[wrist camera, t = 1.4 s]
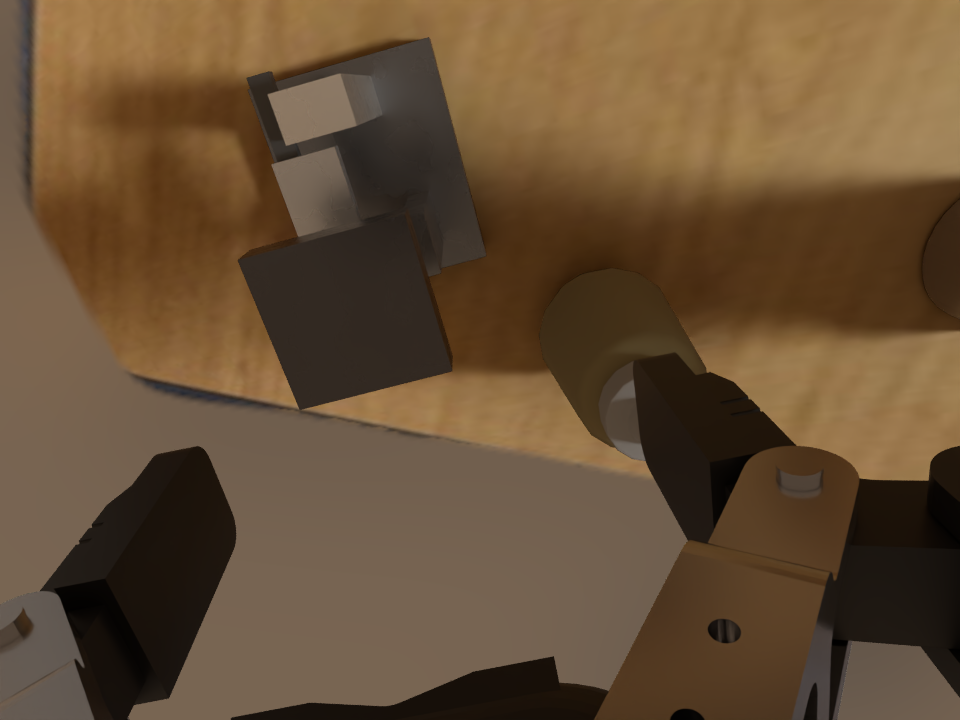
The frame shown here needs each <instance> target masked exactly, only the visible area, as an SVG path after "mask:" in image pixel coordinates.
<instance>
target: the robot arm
mask: <svg viewBox="0 0 960 720" xmlns="http://www.w3.org/2000/svg"><path fill="white" fill-rule="evenodd" d="M922 274H923V280H924V286H925V288H926V290H927V293H928V295H929V297H930V298H931V300H932V301H933V302H934V303H935V304H936V305H937V307H939V308H940V309H942V310H943V311H945V312H946V313H948V314H949V315H952V316H954V317H956V318H958V319H960V199H959V200H958V201H957V202H956V203H955V204H954V205H953V206H952V207H951V208H950V209H949V210H948V211H947V212H946V213H945V214H944V215H943V217H942V218H941V220H940V221H939V222H938V224H937V225H936V226H935V228H934V230H933V232H932V234H931V236H930V238H929V240H928V242H927V246H926V249H925V253H924V256H923V267H922ZM633 379H634V388H635V397H636V406H637V415H638V425H639V434H640V441H641V446H642V450H643V454H644V457H645V460H646V463H647V466H648V468H649V470H650V472H651V474H652V475H653V477H654V479H655V481H656V483H657V485H658V486H659V488H660V490H661V492H662V494H663V496H664V498H665V499H666V501H667V503H668V505H669V507H670V509H671V510H672V512H673V514H674V516H675V518H676V520H677V521H678V523H679V525H680V527H681V529H682V531H683V532H684V534H685V536H686V538H687V540H688V542H687V543H686V544H685V545H684V547H683V549H682V550H681V552H680V554H679V556H678V558H677V560H676V561H675V563H674V565H673V567H672V569H671V571H670V573H669V575H668V577H667V579H666V581H665V583H664V585H663V587H662V589H661V591H660V593H659V595H658V596H657V598H656V600H655V602H654V604H653V606H652V608H651V610H650V612H649V614H648V616H647V618H646V620H645V622H644V624H643V626H642V628H641V630H640V631H639V633H638V636H637V637H636V639H635V641H634V643H633V645H632V647H631V649H630V651H629V653H628V655H627V657H626V659H625V661H624V663H623V664H622V667H621V668H620V671H619V672H618V674H617V676H616V678H615V680H614V682H613V684H612V686H611V688H610V690H609V691H607V690H604V689H600V688H596V687H591V686H586V685H580V684H570V683H559V680H558V675H557V670H556V665H555V660H554V656H553V657H548V658H543V659H538V660H533V661H527V662H522V663H517V664H511V665H506V666H501V667H496V668H490V669H486V670H480V671H475V672H472V673H470V674H467V675H465V676H462V677H460V678H458V679H455V680H453V681H451V682H448V683H446V684H444V685H441V686H439V687H436V688H434V689H432V690H429V691H427V692H424V693H422V694H420V695H417V696H415V697H413V698H410V699H408V700H406V701H403V702H401V703H398V704H395V705H391V706H364V705H344V704H324V703H323V704H322V703H306V704H301V705H296V706H290V707H285V708H280V709H275V710H269V711H264V712H259V713H254V714H249V715H243V716H238V717H233V718H231V720H837V719H838V713H839V708H840V703H841V697H842V692H843V687H844V682H845V677H846V672H847V666H848V660H849V656H850V651H851V645H852V641H861V642H873V643H886V644H898V645H910V646H921V647H922V649H923V650H924V651H925V653H926V654H927V655H928V657H929V658H930V659H931V661H932V662H933V663H934V665H935V666H936V667H937V669H938V670H939V671H940V672H941V674H942V675H943V676H944V678H945V679H946V680H947V682H948V683H949V684H950V685H951V687H952V688H953V689H954V691H955V692H956V693H957V694H958V696H959V697H960V446H957V447H953V448H949V449H947V450H944V451H942V452H940V453H938V454H937V455H936V456H935V457H934V458H933V459H932V461H931V464H930V472H929V481H901V480H868V479H860V478H859V476H858V473H857V471H856V469H855V468H854V467H853V466H852V465H851V464H850V463H849V462H848V461H846V460H845V459H844V458H842V457H840V456H838V455H836V454H834V453H831V452H828V451H825V450H822V449H818V448H812V447H805V446H796V445H795V444H794V443H793V442H792V441H791V440H790V439H789V438H788V437H787V436H786V435H785V433H784V432H783V431H782V430H781V429H780V428H779V427H778V426H777V425H776V424H775V423H774V422H773V421H772V420H771V419H770V418H769V417H768V416H767V415H766V414H765V413H764V412H763V411H762V412H760V408H759V407H758V406H757V405H756V404H755V403H754V402H753V401H752V400H751V399H750V400H749V399H748V396H747V395H746V394H745V393H744V392H743V391H742V390H741V389H740V388H739V387H738V386H737V385H736V384H735V383H734V382H732V381H730V380H728V379H725V378H723V377H721V376H718V375H716V374H714V373H711V372H709V373H704V374H698V375H695V373H694V372H693V371H692V370H691V369H690V368H689V367H688V365H687V364H686V363H685V362H684V361H683V360H682V359H681V358H680V356H679V355H678V354H677V353H675V352H673V353H668V354H663V355H658V356H653V357H648V358H643V359H638V360H634V362H633ZM79 542H80V544H78V545H75V547H74V548H73V549H72V550H71V552H70V553H69V555H68V556H67V557H66V558H65V559H64V561H63V562H62V563H61V565H60V566H59V567H58V568H57V570H56V571H55V572H54V574H53V575H52V576H51V578H50V579H49V580H48V581H47V583H46V584H45V585H44V587H43V588H42V589H41V590H40V591H39V592H34V593H28V594H25V595H22V596H18V597H16V598H14V599H11V600H9V601H6V602H5V603H2V604H0V720H130V719H129V717H128V716H129V714H130V712H131V710H132V708H133V706H134V705H136V704H142V703H147V702H152V701H157V700H163V699H167V698H169V697H170V695H171V693H172V690H173V688H174V686H175V683H176V681H177V679H178V676H179V674H180V672H181V670H182V667H183V665H184V663H185V660H186V658H187V656H188V653H189V651H190V649H191V647H192V644H193V642H194V640H195V637H196V635H197V633H198V630H199V628H200V626H201V623H202V621H203V619H204V617H205V614H206V612H207V610H208V608H209V605H210V603H211V601H212V598H213V596H214V594H215V591H216V589H217V587H218V585H219V582H220V580H221V578H222V575H223V573H224V571H225V568H226V566H227V564H228V562H229V559H230V557H231V555H232V552H233V550H234V547H235V543H236V526H235V520H234V517H233V514H232V511H231V509H230V506H229V504H228V501H227V499H226V497H225V494H224V492H223V489H222V487H221V485H220V482H219V480H218V478H217V475H216V473H215V470H214V468H213V466H212V463H211V461H210V459H209V456H208V454H207V453H206V451H205V450H204V449H203V448H201V447H199V446H196V447H191V448H186V449H181V450H176V451H171V452H166V453H161V454H157V455H155V456H154V457H153V458H152V460H151V461H150V462H149V463H148V465H147V466H146V467H145V469H144V470H143V471H142V473H141V474H140V476H139V477H138V478H137V479H136V481H135V482H134V483H133V485H132V486H130V487H129V488H128V489H127V490H125V491H124V492H123V493H122V494H120V495H119V496H118V497H116V498H115V499H114V500H113V501H111V502H110V503H109V504H108V505H107V506H106V507H105V508H104V510H103V511H102V512H101V513H100V515H99V516H98V517H97V519H96V520H95V521H94V522H93V524H92V528H89V529H88V530H87V531H86V533H85V534H84V535H83V537H82V538H81V539H80V540H79Z"/></svg>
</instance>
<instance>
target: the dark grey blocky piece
mask: <svg viewBox="0 0 960 720" xmlns="http://www.w3.org/2000/svg"><path fill="white" fill-rule="evenodd" d="M271 165H272V168H273V171H274V173H275V176H276V179H277V181H278V184H279V187H280V189H281V192H282V195H283V197H284V200H285V203H286V205H287V208H288V211H289V213H290V216H291V219H292V221H293V224H294V227H295V230H296V232H297V235H298V237H296V238H292V239H289V240H285V241H281V242H278V243H274V244H270V245H267V246H263V247H259V248H256V249H252V250H249V251H248V252H247V253H246V254H245V255H243V256H242V257H241V258H240V259H238V262H239V265H240V267H241V270H242V272H243V274H244V277H245V279H246V282H247V284H248V286H249V289H250V291H251V294H252V296H253V298H254V301H255V303H256V306H257V308H258V311H259V313H260V315H261V318H262V320H263V323H264V325H265V327H266V330H267V332H268V335H269V337H270V339H271V342H272V344H273V347H274V349H275V351H276V354H277V356H278V359H279V361H280V364H281V366H282V368H283V371H284V373H285V376H286V378H287V380H288V383H289V385H290V388H291V390H292V392H293V395H294V397H295V400H296V402H297V404H298V407H299V409H300V410H302V409H306V408H310V407H313V406H317V405H321V404H325V403H329V402H333V401H337V400H341V399H345V398H349V397H353V396H357V395H361V394H365V393H369V392H373V391H376V390H380V389H384V388H388V387H392V386H396V385H400V384H404V383H408V382H412V381H416V380H420V379H424V378H428V377H432V376H436V375H440V374H443V373H447V372H451V371H452V362H453V356H452V352H451V349H450V346H449V342H448V339H447V336H446V332H445V329H444V326H443V322H442V319H441V316H440V313H439V309H438V306H437V303H436V299H435V296H434V293H433V289H432V286H431V283H430V279H429V276H428V273H427V269H426V266H425V263H424V259H423V256H422V253H421V250H420V246H419V243H418V240H417V236H416V233H415V230H414V226H413V223H412V220H411V216H410V213H409V210H408V207H406V208H402V209H399V210H395V211H391V212H388V213H384V214H380V215H377V216H373V217H369V218H366V219H362V218H361V214H360V211H359V208H358V205H357V202H356V199H355V196H354V193H353V190H352V187H351V184H350V181H349V178H348V175H347V172H346V169H345V166H344V163H343V160H342V157H341V154H340V151H339V148H338V145H336V146H333V147H329V148H326V149H322V150H319V151H315V152H311V153H308V154H304V155H301V156H297V157H294V158H290V159H287V160H283V161H279V162H276V163H274V164H271Z"/></svg>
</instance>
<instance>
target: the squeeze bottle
mask: <svg viewBox="0 0 960 720" xmlns="http://www.w3.org/2000/svg"><path fill="white" fill-rule="evenodd" d="M539 338H540V344H541V349H542V355H543V360H544V361H545V363H546V364H547V366H548V368H549V369H550V371H551V373H552V374H553V376H554V377H555V379H556V381H557V382H558V384H559V386H560V387H561V389H562V391H563V392H564V394H565V395H566V397H567V399H568V400H569V402H570V404H571V405H572V407H573V408H574V410H575V412H576V413H577V415H578V417H579V418H580V419H581V421H582V422H583V424H584V425H585V427H586V428H587V430H588V431H589V432H590V434H591V435H592V436H594V437H595V438H597V439H599V440H600V441H602V442H604V443H605V444H607V445H609V446H610V447H615V448H616V449H617V450H618V451H620V452H622V453H623V454H625V455H627V456H628V457H630V458H632V459H636V460H642V461H646V460H645V457H644V454H643V450H642V446H641V441H640V434H639V425H638V415H637V406H636V397H635V388H634V379H633V362H634V360H638V359H643V358H648V357H653V356H658V355H663V354H668V353H673V352H675V353H677V354H678V355H679V356H680V358H681V359H682V360H683V361H684V362H685V363H686V364H687V365H688V367H689V368H690V369H691V370H692V371H693V372H694V373H695V375H698V374H704V373H707V372H706V367H705V365H704V363H703V362H702V360H701V358H700V357H699V355H698V353H697V351H696V350H695V348H694V346H693V345H692V343H691V341H690V339H689V338H688V336H687V334H686V333H685V331H684V329H683V327H682V326H681V324H680V322H679V321H678V319H677V317H676V315H675V314H674V312H673V310H672V309H671V307H670V305H669V303H668V302H667V300H666V298H665V297H664V295H663V293H662V292H661V290H660V288H659V287H658V286H656V285H655V284H653V283H652V282H651V281H649V280H648V279H646V278H645V277H643V276H642V275H640V274H639V273H636V272H631V271H625V270H620V269H615V268H609V269H604V270H599V271H594V272H589V273H584V274H581V275H579V276H578V277H576V278H574V279H573V280H571V281H570V282H568V283H567V284H565V285H564V286H563V287H562V288H561V289H560V291H559V292H558V293H557V295H556V296H555V297H554V299H553V300H552V301H551V303H550V304H549V306H548V307H547V308H546V310H545V313H544V317H543V321H542V325H541V329H540V333H539Z"/></svg>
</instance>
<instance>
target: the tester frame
mask: <svg viewBox="0 0 960 720" xmlns="http://www.w3.org/2000/svg"><path fill="white" fill-rule="evenodd" d="M276 85H277V88H278V90H279V91H277V92H274V93H270V94H268V97H269V100H270V103H271V105H272V108H273V111H274V114H275V117H276V119H277V122H278V125H279V128H280V130H281V133H282V136H283V139H284V142H285V144H286V146H287V145H291V144H294V143H297V144H298V147H299V150H300V153H301V155H304V154H308V153H311V152H315V151H319V150H322V149H326V148H329V147H333V146H336V145H338V148H339V151H340V154H341V157H342V160H343V163H344V166H345V169H346V172H347V175H348V178H349V181H350V184H351V187H352V190H353V193H354V196H355V199H356V202H357V205H358V208H359V211H360V214H361V218H362V219H366V218H369V217H373V216H377V215H380V214H384V213H388V212H391V211H395V210H399V209H402V208H406V207H408V210H409V213H410V216H411V220H412V223H413V226H414V230H415V233H416V236H417V240H418V243H419V246H420V250H421V253H422V256H423V259H424V263H425V266H426V269H427V273H428V276H433V275H436V274H440V273H441V268H444V267H448V266H451V265H455V264H459V263H463V262H466V261H470V260H474V259H478V258H481V257H485V256H486V251H485V246H484V242H483V238H482V235H481V231H480V227H479V223H478V219H477V216H476V212H475V208H474V204H473V200H472V196H471V193H470V189H469V185H468V181H467V177H466V174H465V170H464V166H463V162H462V158H461V154H460V151H459V147H458V143H457V139H456V135H455V132H454V128H453V124H452V120H451V116H450V113H449V109H448V105H447V101H446V97H445V93H444V90H443V86H442V82H441V78H440V74H439V71H438V67H437V63H436V59H435V55H434V51H433V48H432V44H431V40H430V38H429V37H428V38H425V39H421V40H418V41H414V42H411V43H407V44H404V45H401V46H397V47H394V48H390V49H387V50H383V51H380V52H376V53H373V54H370V55H366V56H363V57H359V58H356V59H352V60H349V61H345V62H342V63H339V64H335V65H332V66H328V67H325V68H321V69H318V70H314V71H311V72H308V73H304V74H301V75H297V76H294V77H290V78H287V79H283V80H280V81H277V82H276ZM248 92H249V95H250V97H251V100H252V103H253V105H254V108H255V111H256V114H257V116H258V119H259V122H260V124H261V127H262V130H263V132H264V135H265V138H266V141H267V143H268V146H269V149H270V151H271V154H272V157H273V159H274V162H275V163H276V162H277V160H276V157H275V154H274V151H273V149H272V146H271V143H270V141H269V138H268V135H267V132H266V130H265V127H264V124H263V122H262V119H261V116H260V114H259V111H258V108H257V105H256V103H255V100H254V97H253V95H252V92H251V89H249V90H248Z"/></svg>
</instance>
